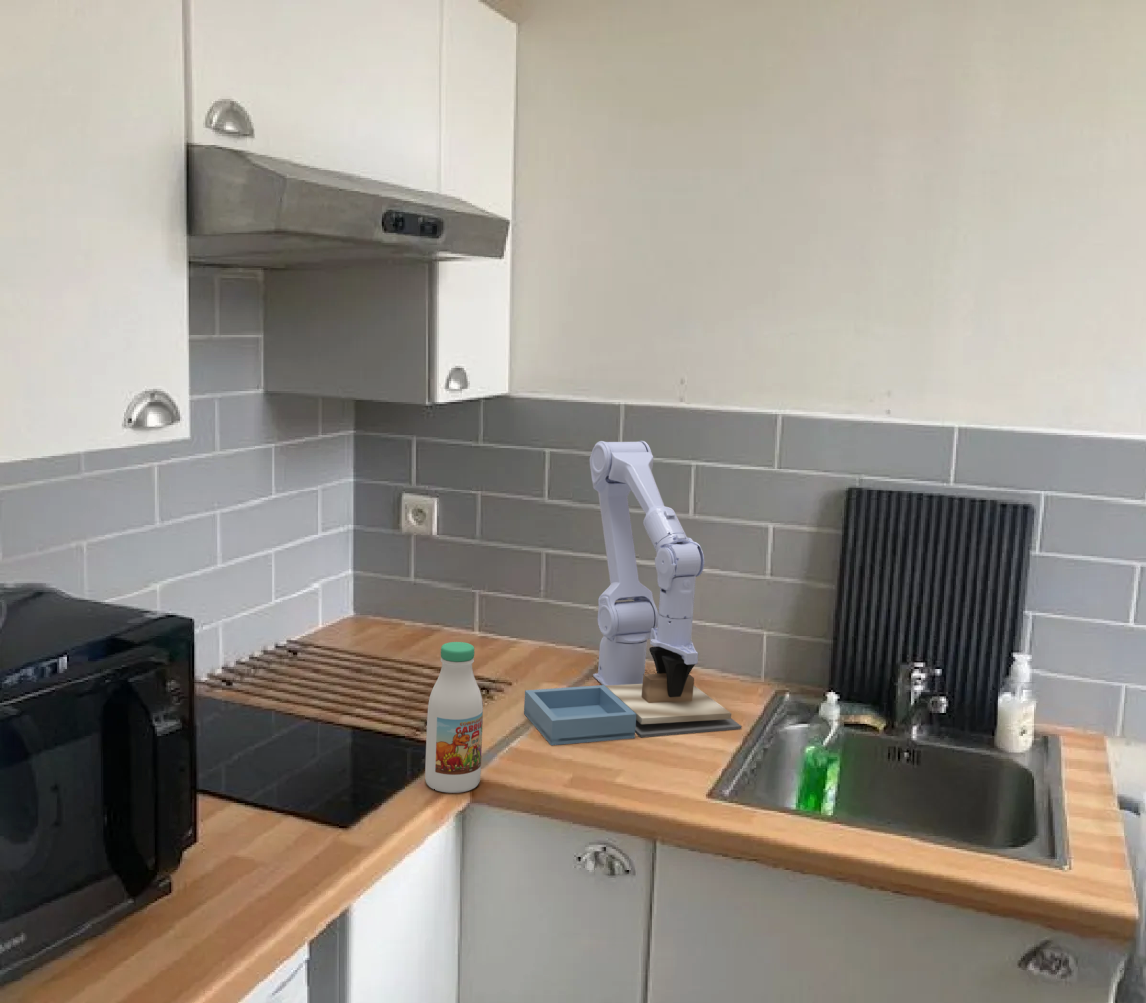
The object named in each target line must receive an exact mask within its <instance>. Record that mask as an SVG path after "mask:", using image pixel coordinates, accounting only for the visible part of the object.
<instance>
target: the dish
mask: <svg viewBox="0 0 1146 1003" xmlns="http://www.w3.org/2000/svg"><path fill="white" fill-rule="evenodd" d="M523 701H524V703H523V704H524V705H523V714H524V715H525V717H526V718H527V720H529V722H530V723H532V725H533V726H534V727H535V728H536V730H537V731H538V732H539V733H540V734H541V736H542V737H543V738H544V739H545V740H546V741H547V743H548V744H549V745H550V746H557V745H558V746H559V745H560V746H561V745H569V744H572V745H573V744H581V743H595V742H596V743H597V742H606V741H608V742H609V741H616V740H617V741H618V740H619V741H620V740H629V739H636V733H635V727H636V713H635V712H633V711H632V710H631V709H630V708H629V707H628V706H627V705H626V704H625V703H623V702H622V701H621V700H620V699H619V698H618V697H617V696H616V695H615V694H613V693H612V692H611V691H610V690H609V689H608V688H607V687H606V686H605V685H602V684H601V685H585V686H569V687H555V688H541V689H540V688H539V689H527V690H526V689H525V690H524V700H523Z"/></svg>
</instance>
